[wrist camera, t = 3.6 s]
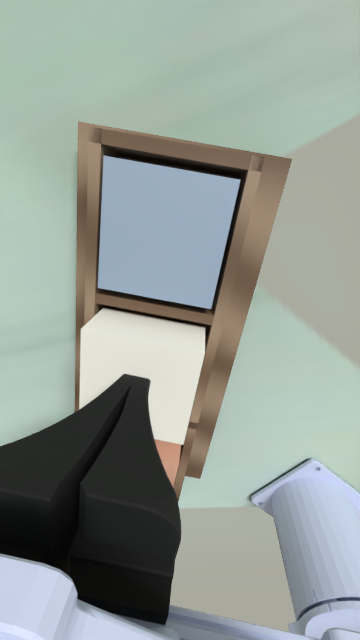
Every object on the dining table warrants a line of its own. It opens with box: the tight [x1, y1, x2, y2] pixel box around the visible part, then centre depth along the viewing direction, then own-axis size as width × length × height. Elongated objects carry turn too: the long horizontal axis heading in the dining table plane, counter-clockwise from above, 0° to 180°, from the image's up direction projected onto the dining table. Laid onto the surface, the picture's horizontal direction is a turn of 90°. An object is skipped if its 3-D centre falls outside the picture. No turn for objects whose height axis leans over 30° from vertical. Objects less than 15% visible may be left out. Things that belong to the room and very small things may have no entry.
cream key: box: [79, 308, 205, 445], centre depth 16 cm, size 6×6×3 cm
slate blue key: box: [98, 156, 240, 309], centre depth 15 cm, size 6×6×3 cm
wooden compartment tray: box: [75, 122, 292, 501], centre depth 19 cm, size 26×12×4 cm, turn 170°
